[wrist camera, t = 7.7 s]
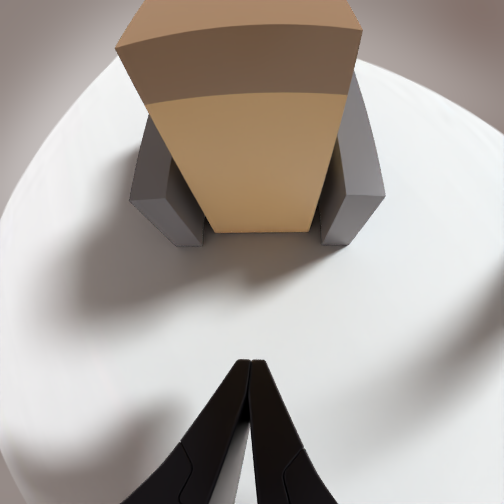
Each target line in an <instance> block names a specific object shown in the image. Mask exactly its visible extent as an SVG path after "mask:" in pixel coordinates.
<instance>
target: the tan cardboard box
mask: <svg viewBox="0 0 504 504" xmlns="http://www.w3.org/2000/svg"><path fill="white" fill-rule="evenodd" d="M362 31H363V30H362V28H361V26H360V24H359V22H358V20H357V18H356V16H355V15H354V13H353V11H352V9H351V7H350V6H349V4H348V2H347V1H346V0H145V1H144V3H143V4H142V5H141V7H140V8H139V10H138V11H137V13H136V14H135V16H134V17H133V19H132V21H131V22H130V24H129V25H128V27H127V28H126V30H125V32H124V33H123V35H122V36H121V38H120V40H119V42H118V43H117V45H116V47H115V50H116V51H117V54H118V56H119V57H120V59H121V61H122V63H123V65H124V67H125V69H126V71H127V73H128V75H129V77H130V79H131V81H132V83H133V84H134V86H135V88H136V90H137V92H138V94H139V96H140V98H141V100H142V101H143V103H144V105H145V107H146V109H147V111H148V113H149V115H150V116H151V118H152V120H153V122H154V124H155V126H156V128H157V129H158V131H159V133H160V135H161V137H162V139H163V140H164V142H165V144H166V146H167V148H168V150H169V151H170V153H171V155H172V157H173V159H174V161H175V162H176V164H177V166H178V168H179V170H180V171H181V173H182V175H183V177H184V179H185V180H186V182H187V184H188V186H189V188H190V189H191V191H192V193H193V195H194V197H195V198H196V200H197V202H198V204H199V205H200V207H201V209H202V211H203V213H204V214H205V216H206V218H207V220H208V221H209V223H210V225H211V227H212V228H213V230H214V232H215V233H250V232H309V229H310V226H311V223H312V220H313V216H314V213H315V210H316V207H317V203H318V200H319V197H320V193H321V190H322V187H323V183H324V180H325V176H326V173H327V170H328V166H329V163H330V159H331V156H332V152H333V148H334V145H335V141H336V138H337V134H338V130H339V126H340V123H341V119H342V115H343V111H344V107H345V103H346V100H347V96H348V92H349V88H350V83H351V79H352V75H353V71H354V67H355V62H356V58H357V54H358V49H359V45H360V40H361V36H362Z"/></svg>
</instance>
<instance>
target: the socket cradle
mask: <svg viewBox="0 0 504 504" xmlns="http://www.w3.org/2000/svg"><path fill="white" fill-rule="evenodd" d="M385 196H386V195H385V190H384V184H383V179H382V174H381V169H380V164H379V160H378V155H377V151H376V146H375V142H374V138H373V134H372V130H371V126H370V122H369V119H368V115H367V111H366V108H365V104H364V101H363V97H362V94H361V91H360V88H359V85H358V81H357V78H356V75H355V72H354V71H353V75H352V79H351V83H350V88H349V92H348V96H347V100H346V103H345V107H344V111H343V115H342V119H341V123H340V126H339V130H338V134H337V138H336V141H335V145H334V148H333V152H332V156H331V159H330V163H329V166H328V170H327V173H326V176H325V180H324V183H323V187H322V190H321V193H320V197H319V210H320V224H321V240H322V245H349V244H350V243H351V241H352V240H353V239H354V238H355V236H356V235H357V234H358V232H359V231H360V230H361V228H362V227H363V226H364V225H365V223H366V222H367V221H368V219H369V218H370V217H371V215H372V214H373V213H374V211H375V210H376V209H377V207H378V206H379V205H380V203H381V202H382V200H383V199H384V198H385ZM129 201H130V202H131V203H132V204H133V205H134V206H135V207H136V208H137V209H138V210H139V211H140V212H141V213H142V214H143V215H144V216H145V217H146V218H147V219H148V220H149V221H150V222H151V223H152V224H153V225H154V226H155V227H156V228H158V229H159V230H160V231H161V232H162V233H163V234H164V235H165V236H166V237H167V238H168V239H169V240H170V241H171V242H172V243H173V244H174V245H175V246H202V244H203V229H204V215H205V214H204V213H203V211H202V209H201V207H200V205H199V204H198V202H197V200H196V198H195V197H194V195H193V193H192V191H191V189H190V188H189V186H188V184H187V182H186V180H185V179H184V177H183V175H182V173H181V171H180V170H179V168H178V166H177V164H176V162H175V161H174V159H173V157H172V155H171V153H170V151H169V150H168V148H167V146H166V144H165V142H164V140H163V139H162V137H161V135H160V133H159V131H158V129H157V128H156V126H155V124H154V122H153V120H152V118H151V116H150V115H148V119H147V123H146V127H145V130H144V134H143V138H142V142H141V146H140V151H139V155H138V159H137V164H136V168H135V173H134V178H133V183H132V188H131V193H130V199H129Z"/></svg>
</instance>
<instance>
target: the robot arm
mask: <svg viewBox="0 0 504 504" xmlns="http://www.w3.org/2000/svg"><path fill="white" fill-rule="evenodd" d="M249 428H250V429H251V440H252V451H253V462H254V472H255V483H256V493H257V503H258V504H338V503H337V502H336V500H335V499H334V498H333V496H332V495H331V493H330V492H329V491H328V489H327V488H326V486H325V485H324V483H323V482H322V480H321V478H320V477H319V475H318V474H317V472H316V470H315V468H314V466H313V464H312V462H311V460H310V458H309V456H308V454H307V452H306V450H305V449H304V446H303V444H302V442H301V439H300V437H299V435H298V433H297V431H296V428H295V426H294V424H293V422H292V420H291V417H290V415H289V413H288V411H287V408H286V406H285V404H284V402H283V400H282V397H281V395H280V393H279V390H278V388H277V386H276V384H275V381H274V379H273V377H272V375H271V372H270V370H269V368H268V365H267V363H266V361H265V360H252V361H251V360H249V359H238V360H237V361H236V362H235V364H234V365H233V367H232V368H231V370H230V371H229V373H228V374H227V375H226V377H225V378H224V380H223V381H222V383H221V384H220V386H219V387H218V389H217V390H216V391H215V393H214V394H213V396H212V397H211V399H210V400H209V401H208V403H207V404H206V406H205V407H204V408H203V410H202V411H201V413H200V414H199V415H198V417H197V418H196V420H195V421H194V422H193V424H192V425H191V427H190V428H189V429H188V431H187V432H186V433H185V435H184V436H183V438H182V439H181V440H180V441H181V442H179V443H178V444H177V445H176V447H175V448H174V450H173V451H172V452H171V453H170V455H169V456H168V457H167V458H166V459H165V461H164V462H163V463H162V464H161V465H160V466H159V467H158V468H157V470H156V471H155V472H154V473H153V474H152V475H151V476H150V477H149V478H148V479H147V480H146V481H144V482H143V483H142V484H141V485H140V486H139V487H138V488H137V489H136V490H135V491H134V492H133V493H132V494H131V495H130V496H128V497H127V498H126V499H125V500H124V501H123V502H122V503H120V504H234V502H235V498H236V493H237V488H238V483H239V479H240V474H241V469H242V464H243V459H244V454H245V449H246V444H247V439H248V434H249Z"/></svg>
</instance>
